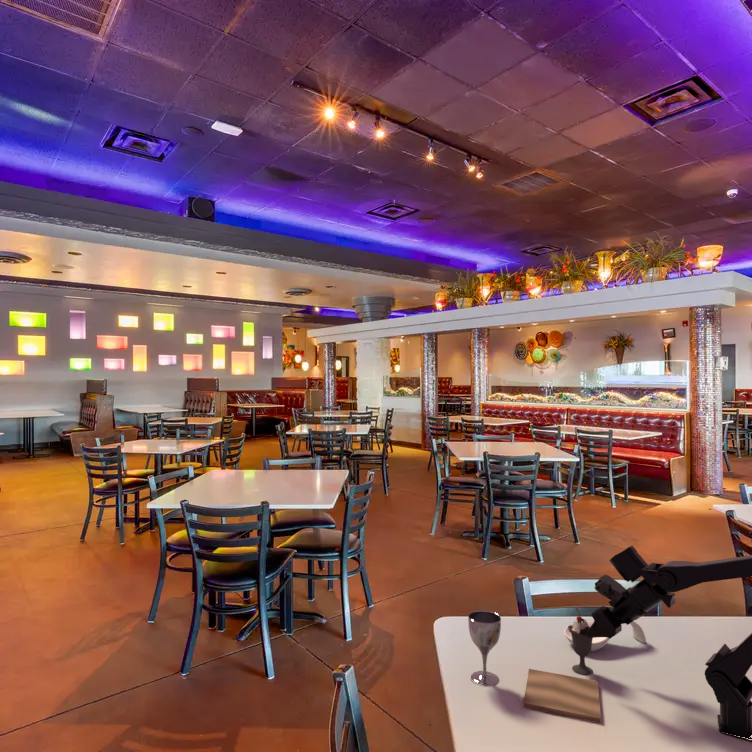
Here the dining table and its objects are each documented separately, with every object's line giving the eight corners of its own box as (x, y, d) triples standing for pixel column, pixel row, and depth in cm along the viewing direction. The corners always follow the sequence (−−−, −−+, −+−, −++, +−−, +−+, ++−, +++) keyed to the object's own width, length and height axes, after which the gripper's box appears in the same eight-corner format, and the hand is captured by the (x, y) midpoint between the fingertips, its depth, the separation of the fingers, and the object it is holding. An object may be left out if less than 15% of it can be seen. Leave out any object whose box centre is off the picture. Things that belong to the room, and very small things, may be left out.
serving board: (600, 723, 111) (600, 718, 111) (523, 707, 117) (523, 702, 117) (597, 685, 126) (597, 681, 126) (529, 672, 132) (529, 668, 132)
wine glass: (477, 689, 124) (477, 624, 125) (463, 672, 132) (462, 612, 133) (507, 684, 126) (506, 621, 127) (491, 668, 134) (491, 608, 135)
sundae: (573, 661, 138) (572, 603, 139) (599, 669, 134) (598, 609, 135) (564, 670, 133) (563, 610, 134) (591, 679, 129) (590, 617, 130)
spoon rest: (580, 659, 140) (580, 631, 140) (555, 639, 151) (555, 614, 152) (655, 649, 145) (655, 623, 146) (626, 631, 157) (625, 607, 157)
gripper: (631, 560, 135) (589, 591, 142) (599, 576, 122) (555, 610, 130) (664, 600, 129) (619, 630, 136) (635, 621, 116) (587, 654, 124)
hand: (595, 630), depth 132 cm, fingers open, 9 cm apart
